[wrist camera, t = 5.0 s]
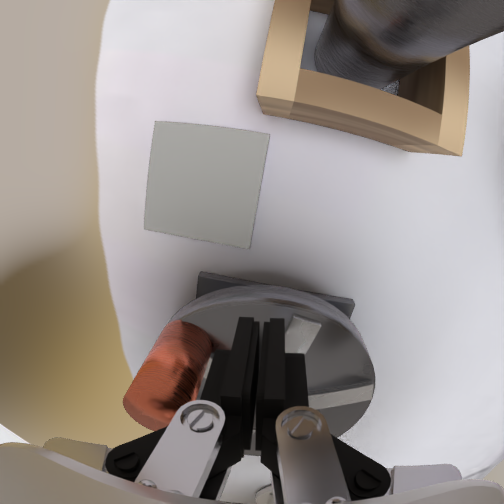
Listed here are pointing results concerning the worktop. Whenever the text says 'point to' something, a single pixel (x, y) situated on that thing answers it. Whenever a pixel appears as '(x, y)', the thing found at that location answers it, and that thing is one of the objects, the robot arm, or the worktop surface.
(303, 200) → the worktop surface
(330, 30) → the dark grey rounded cylinder
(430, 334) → the worktop surface
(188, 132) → the mat
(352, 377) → the handwheel
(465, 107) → the eye block
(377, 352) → the worktop surface
